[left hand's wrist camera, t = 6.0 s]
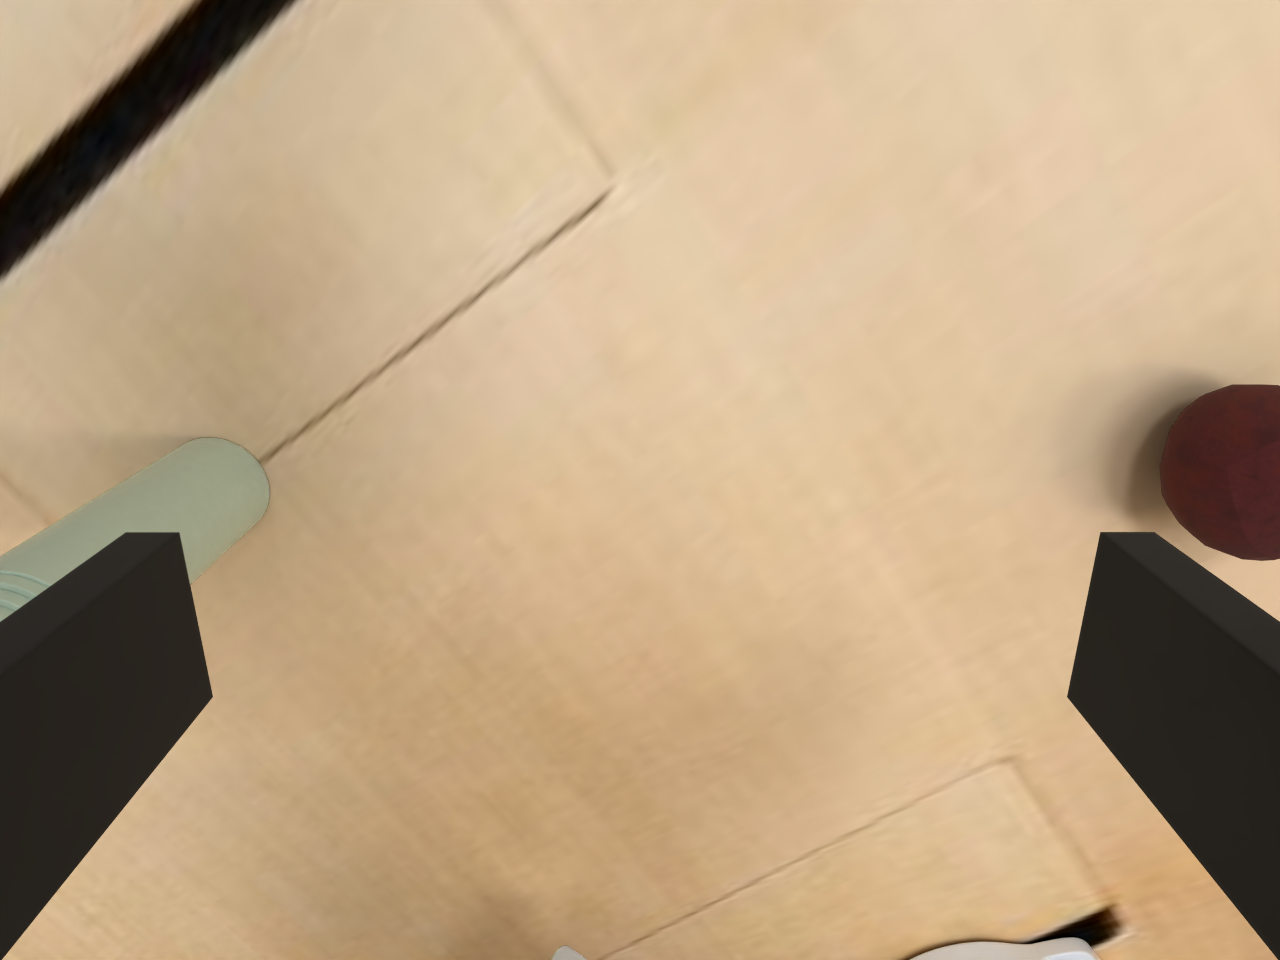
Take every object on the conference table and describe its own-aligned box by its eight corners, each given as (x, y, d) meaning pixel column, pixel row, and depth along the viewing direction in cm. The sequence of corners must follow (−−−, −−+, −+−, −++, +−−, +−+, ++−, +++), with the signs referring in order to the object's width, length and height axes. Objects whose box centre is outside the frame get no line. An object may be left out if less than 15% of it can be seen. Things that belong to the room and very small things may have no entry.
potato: (1163, 545, 43) (1259, 615, 36) (1100, 420, 40) (1191, 471, 34) (1308, 468, 41) (1436, 526, 35) (1252, 334, 39) (1377, 369, 32)
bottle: (191, 542, 43) (-150, 830, 24) (148, 450, 41) (-253, 683, 23) (285, 521, 42) (11, 796, 24) (246, 426, 41) (-82, 644, 22)
